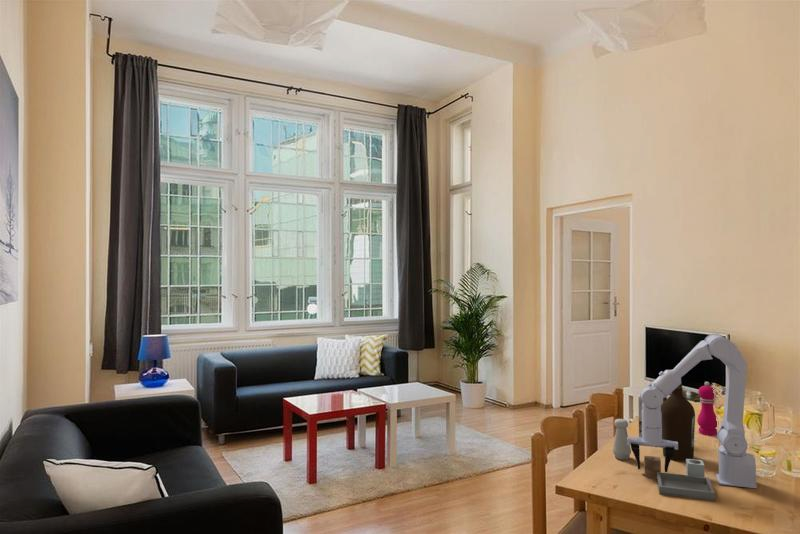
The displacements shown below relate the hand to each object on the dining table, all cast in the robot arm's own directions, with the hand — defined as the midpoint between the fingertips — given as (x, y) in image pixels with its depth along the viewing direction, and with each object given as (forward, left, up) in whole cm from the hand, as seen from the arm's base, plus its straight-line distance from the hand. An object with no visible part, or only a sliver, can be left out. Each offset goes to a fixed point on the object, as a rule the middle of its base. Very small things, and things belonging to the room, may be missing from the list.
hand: (652, 469), depth 175 cm
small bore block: (0, 0, -2) cm, 2 cm away
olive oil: (-9, -20, -2) cm, 22 cm away
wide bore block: (-12, -1, -2) cm, 12 cm away
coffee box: (-2, -38, -2) cm, 38 cm away
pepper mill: (-22, -53, -2) cm, 57 cm away
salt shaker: (+9, -13, -2) cm, 16 cm away
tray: (-8, +10, -1) cm, 13 cm away
